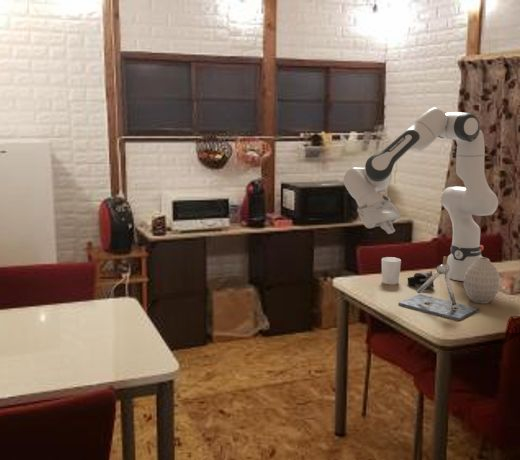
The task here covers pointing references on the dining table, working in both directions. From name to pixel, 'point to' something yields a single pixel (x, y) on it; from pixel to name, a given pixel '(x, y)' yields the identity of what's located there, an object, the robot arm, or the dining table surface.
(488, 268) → the vase
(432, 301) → the blue and grey frame
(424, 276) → the caster wheel
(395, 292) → the dining table surface
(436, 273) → the leg
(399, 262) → the white cup
